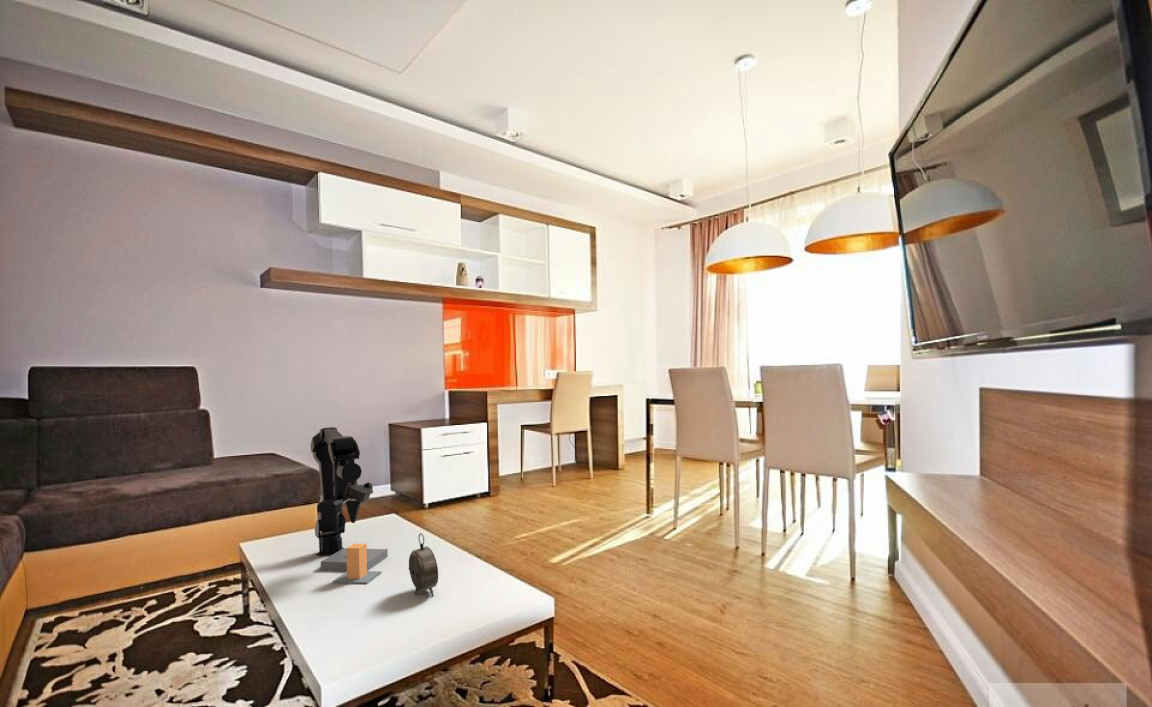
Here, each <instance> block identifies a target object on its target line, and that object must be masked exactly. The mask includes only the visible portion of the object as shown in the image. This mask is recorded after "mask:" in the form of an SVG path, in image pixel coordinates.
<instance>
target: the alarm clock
mask: <svg viewBox="0 0 1152 707" xmlns="http://www.w3.org/2000/svg"><path fill="white" fill-rule="evenodd" d="M421 536H422V540H423V541H422V543H421V540H420V537H421ZM418 543H419V546H420V547H419V548H416V549H414V550H412V552H411V553H410V555H409V557H408V558H409V559H408V571H409V575H410V579H411V581H412V584H413V586H414V588H415V591H414V595H417V592H418V591H420V592H424V591H427V590H429V593H430V596H431V597H434V590H433V588H435V587H436V586H437V585H438V582H439V567H438V563H437V559H436V557H435V554H434V552H433V550H432V549H431V548H430V547H429V546H424V544H425V536H424V534H423V533H419V534H418Z"/></svg>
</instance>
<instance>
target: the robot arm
mask: <svg viewBox="0 0 1152 707" xmlns="http://www.w3.org/2000/svg"><path fill="white" fill-rule="evenodd" d="M310 452H311V453H312V457H313V459H314V460H315V461H316V463H317V464H318V469H319V481H320V482H319V484H320V493H321V496H320V497H321V501H319V503H317V505H316V512H317V513H318V515H317V520H316V523H315V527H314V535H315V537H316V538H317V539H318V549H319V551H318V552H316V553H315V555H316V556H331V555H333V554H335V553H336V552H338V551H340V550H341V549H343V548H345V547H343V537H342V535H341V534H344V533H345V532H346V522H347V519H346V518H345V515H344V514H343V511H344V509H342V507H343V504H345V505H346V506H345V507H346V509H347V513H348V516H349V520H350V523H352V524H354V523H356V520H357V517H358V513H359V510H360V507H361V505H362V504H363V503H364V502H365V501H369V500H370V497H371V495H372V494H373V493H374V491H373V490H374V489H373V483H371V482H366V483H364V484H358V480H359V479H360V477H361V475H362V472H363V471H362V467H361V466H360V465H359V464H358V463H356V462H355V460H360V455H361V452H360V449H359V446H358V442H357V441H356V439H355V438H354V437H353V436H350V435H342V433H340V432H339V431H338V429H337V427H334V426H331V427H322V428H320V429H319V431H318V433H316V434H315V435H314V436H313V437H312V439H311V442H310Z"/></svg>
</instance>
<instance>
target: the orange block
mask: <svg viewBox="0 0 1152 707" xmlns="http://www.w3.org/2000/svg"><path fill="white" fill-rule="evenodd" d="M367 549H368V548H367V543H353V544H351V545H349V546H347V547H346V550H347V570H346V572H347V579H361V578H362V577H363V576H365V575H366V574H367Z"/></svg>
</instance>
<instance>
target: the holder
mask: <svg viewBox="0 0 1152 707" xmlns="http://www.w3.org/2000/svg"><path fill="white" fill-rule="evenodd" d="M346 548H347V547H346ZM346 548H345V547H344V548H343V549H341V550H340V551H338V552H336V553H335V554H333V555H328V557H325V559H323V560H320V570H321V571H322V570H325V571H347V550H346ZM388 554H389V553H388V548H367V571H370V569H371V570H372V568H373V567H375V566H376V565H378V564H380V563H381V562H383V559H384V560H385V559H386V558H388Z"/></svg>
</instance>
